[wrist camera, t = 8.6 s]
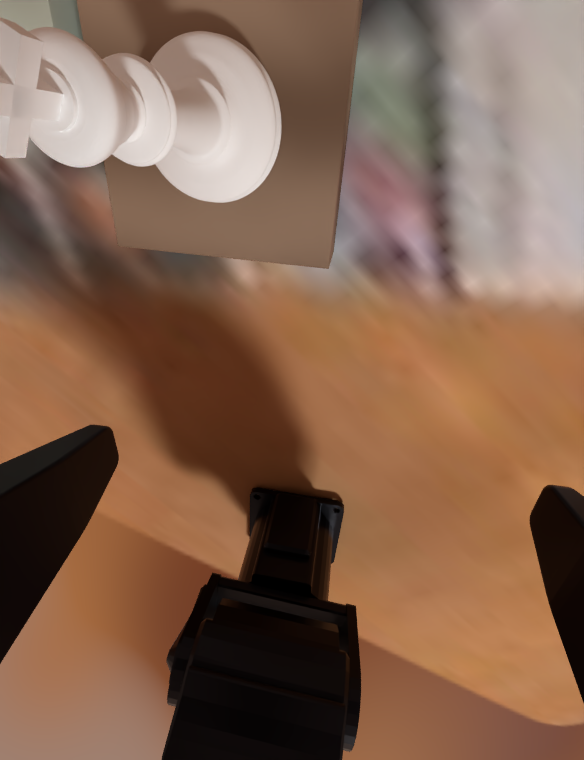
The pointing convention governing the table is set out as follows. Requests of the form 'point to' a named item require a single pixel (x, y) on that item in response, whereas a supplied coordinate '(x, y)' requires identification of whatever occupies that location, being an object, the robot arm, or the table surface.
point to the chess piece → (143, 108)
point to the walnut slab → (298, 127)
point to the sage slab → (43, 14)
